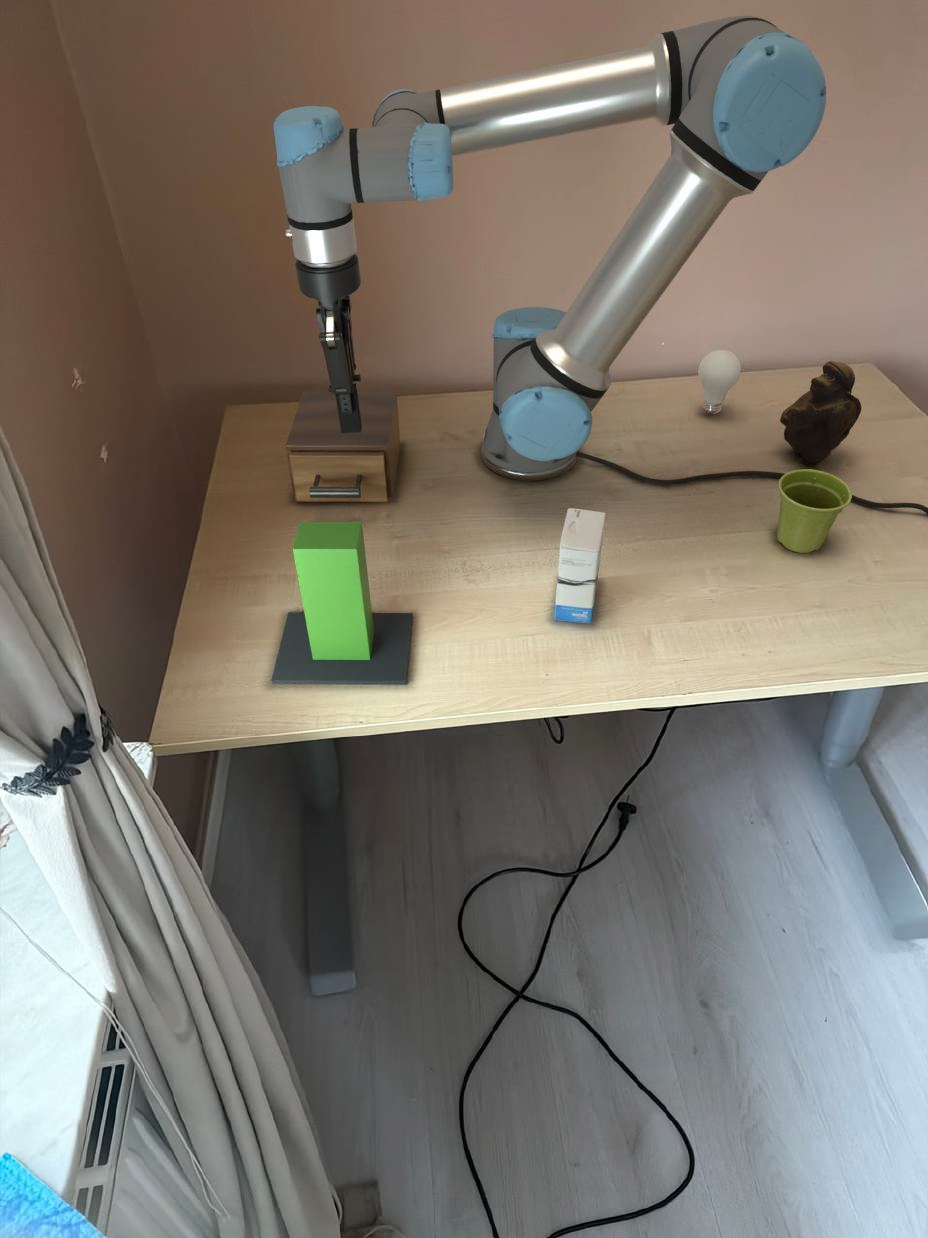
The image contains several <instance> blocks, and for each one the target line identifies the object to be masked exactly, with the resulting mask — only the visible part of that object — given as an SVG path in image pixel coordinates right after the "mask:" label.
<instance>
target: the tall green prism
mask: <svg viewBox="0 0 928 1238" xmlns="http://www.w3.org/2000/svg"><path fill="white" fill-rule="evenodd" d="M364 538H365V537H364V528H363V522H362V521H299V524H298V527H297V531H296V535H295V539H294V543H293V546H292V553H293V560H294V564H295V569H296V574H297V575H296V576H297V579H298V581H297V582H298V586H299V591H300V597H301V602H302V607H303V612H304V614H305V619H306V624H307V630H308V635H309V641H310V646H311V652H312V657H313V660H370V659H371V652H372V645H373V638H374V624H373V615H372V613H373V608H372V607H373V606H372V599H371V598H372V597H371V589H370V581H369V573H368V563H367V556H366V555H367V554H366V547H365V546H366V545H365V539H364Z"/></svg>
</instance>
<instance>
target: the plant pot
mask: <svg viewBox="0 0 928 1238" xmlns="http://www.w3.org/2000/svg"><path fill="white" fill-rule="evenodd" d="M777 486H778V491H779V497H780V505H779V512H778V513H779V514H778V521H777V530H776V539H777V541H778V542H780V543H781V544H782V545H783V546H784V547H785V548H786V549H787V550H789V551H792V552H796V553H801V554H808V553H812V552H813V551H818V550H819V549H820V548H821V547H822V545H823V544H824V542H825V540H826V538H827V536H828V534H829V532H830V531H831V529H832V526H833V525H834V523H835V521H836V519H837V518H838V516H839V514H840V513H841V512H842V511H843V510H844V508H846V507H847V506H848V505H849V504H850V503H851V501H852V500H851V499H852V495H853V493H852V489H851V488H850V487H849V485H848V484H847V483H846V482H845V481H843V480H842V479H841V478H840V477H838V476H836V475H833V474H832V473H828V472H826V471H823V470H818V469H810V468H804V469H803V468H801V469H795V470H790V471H789V472H786V473H784V475H783V476H782V477H781V478H779V480H778V485H777Z"/></svg>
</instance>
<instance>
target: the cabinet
mask: <svg viewBox="0 0 928 1238" xmlns="http://www.w3.org/2000/svg"><path fill="white" fill-rule="evenodd" d="M357 395H358V402H359V409H360V416H361V424H362V429H361V432H355V433H341V427H340V421H339V415H338V408H337V402H336V396H335V394H333V393H332V392H329V391H303V392H302V393H301V395H300V399H299V403H298V405H297V408H296V409H297V410H296V412H295V415H294V418H293V421H292V425H291V428H290V430H289V435H288V438H287V440H286V444H285V451H286V456H287V463H288V468H289V475H290V480H291V486H292V491H293V497H294V501H295V502H298V501H297V498H296V492H295V487H294V481H293V475H292V469H291V463H290V457H289V455H290V452H298V451H383V452H384V456H385V467H386V479H387V490H388V500H387V501H311V502H316V503H317V502H320V503H321V502H322V503H323V502H325V503H327V502H328V503H329V502H334V503H337V502H338V503H339V502H340V503H341V502H345V503H346V502H350V503H351V502H358V503H359V502H362V503H363V502H364V503H365V502H366V503H367V502H368V503H369V502H370V503H371V502H373V503H374V502H375V503H376V502H377V503H378V502H380V503H381V502H384V503H385V502H388V503H389V502H394V495H395V494H394V493H395V486H396V481H397V473H398V465H399V458H400V451H401V435H400V420H399V407H398V393H397V391H357Z"/></svg>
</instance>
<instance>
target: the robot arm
mask: <svg viewBox="0 0 928 1238" xmlns="http://www.w3.org/2000/svg"><path fill="white" fill-rule="evenodd" d="M825 77H826V76H825V74H824V71H823V67H822V66H821V64H820V62H819V61H818V59H817V58H816V56H815V55H814V54H813V52H812V51H811V49H810V48H809V47H807V45H805V43H804V42H803V41H802V40H801V39H798V38H796V37H795V36H792V35H791V34H790V33H787V32H786V31H783V30H782V29H780V28H778V26H776V25H775V24H774V23H772V22H770V21H768V20H766V19H764V18H762V17H760V16H755V15H735V16H727V17H723V18H719V19H715V20H711V21H706V22H702V23H698V24H694V25H690V26H686V27H682V28H678V29H675V30H670V31H665V32H660V33H657V34H655V36H654V37H653V39H652V41H651V42H650V43H649V44H648V45H647V46H642V47H636V48H632V49H627V50H623V51H618V52H613V53H607V54H603V55H598V56H593V57H589V58H588V57H587V58H584V59H583V58H582V59H579V60H574V61H570V62H564V63H558V64H555V65H549V66H545V67H540V68H536V69H531V70H530V69H529V70H525V71H521V72H516V73H511V74H505V75H501V76H496V77H491V78H487V79H481V80H477V81H476V80H475V81H472V82H467V83H462V84H457V85H453V86H452V85H451V86H447V87H443V88H440V89H434V90H428V91H423V92H417V91H415V90H412V89H409V88H408V89H406V88H400V89H396V90H394V91H391V92H390V93H388V94H387V95H385V96H384V98H383V99H382V100H381V101H380V103H379V104H378V106H377V108H376V110H375V112H374V115H373V119H372V122H371V123H372V124H371V125H372V127H361V128H357V127H355V128H351V127H344V123H343V122H342V119H341V115H340V113H339V112H338V110H336V109H335V108H333V107H330V106H318V105H306V106H299V107H295V108H294V107H293V108H290V109H286V110H285V111H283V112H281V113H280V114H278V115H277V117H276V118H275V120H274V122H273V126H272V127H273V134H274V143H275V151H276V166H277V169H278V174H279V179H280V184H281V190H282V195H283V200H284V205H285V211H286V217H287V222H288V227H289V228H286V229H285V233H284V234H285V237H286V238H289V239H292V242H291V245H292V251H293V256H294V258H295V259H296V261H295V264H294V265H295V271H296V276H297V283H298V289H299V291H300V293H302V295H304V296H305V297H308V298H310V299H315V300H316V301H317V302H318V303H317V305H318V307H317V308H316V309H315V316H316V321H317V324H319V328H320V332H319V335H318V340H319V341H320V345H321V347H322V351H323V355H324V361H325V364H326V370H327V375H328V379H329V383H330V385H329V386H328V392H332V393H333V394H335V396H336V402H337V408H338V415H339V421H340V427H341V433H355V432H361V429H362V424H361V416H360V409H359V402H358V395H357V392H358V389H357V383H355V382H361V381H362V376H361V374H356V373H355V371H356V369H357V363H356V359H355V349H354V340H353V339H354V338H353V330H352V329H353V324H352V316H351V311H352V302H351V298H350V297H351V296H350V295H352V294H354V293H355V292H357V290H359V288H360V287H361V283H362V279H361V272H360V271H361V270H360V264H359V262H360V261H359V257H358V255H357V254H356V252H357V251H358V244H357V243H358V242H357V236H356V235H357V234H356V228H355V219H354V216H353V209H352V204H366V203H386V202H387V203H388V202H389V203H390V202H408V201H419V202H426V201H428V200H433V199H434V200H435V199H440V198H441V199H442V198H446V197H448V196H450V195H451V194H452V192H453V190H454V169H453V168H454V166H453V158H456V157H461V156H468V155H472V154H476V153H477V154H479V153H482V152H487V151H492V150H498V149H504V148H508V147H513V146H518V145H523V144H528V143H535V142H540V141H544V140H549V139H555V138H560V137H565V136H571V135H575V134H580V133H586V132H590V131H596V130H602V129H607V128H611V127H616V126H621V125H622V126H623V125H626V124H632V123H638V122H643V121H648V120H654V121H655V122H657V123H658V124H659V125H660V126H662V127H665V126H670V125H673V126H672V128H671V129H670V130H669V138H670V139H669V140H670V148H671V149H670V155H669V156H668V158H667V160H666V161H665V163H664V164H663V165H662V167H661V168H660V170H659V171H658V173H657V175H656V176H655V178H654V179H653V180H652V182H651V184H650V185H649V187H648V188H647V190H645V193H644V194H643V196H642V197H641V199H640V201H639V202H638V203H637V205H636V206H635V207H634V209H633V211H632V213H630V215H629V217H628V219H627V220H626V221H625V223H624V224H623V226H622V228H621V229H620V231H619V232H618V234H617V235H616V236H615V238H614V240H613V241H612V243H611V244H610V245H609V248H608V249H607V250H606V252H605V253H604V255H603V256H602V258H601V259H600V261H599V262H598V264H597V265H596V267H595V268H594V270H593V271H592V273H591V274H590V275H589V278H588V279H587V280H586V282H585V284H583V286H582V288H581V289H580V291H579V292H578V294H577V295H576V297H575V298H574V300H573V302H572V303H571V305H570V306H569V308H568V309H567V310H566V311H563V310H561V309H557V308H552V307H545V306H543V307H542V306H527V307H518V308H514V309H510V310H507V311H504V312H502V313H501V314H499V315H498V316H497V317H496V319H495V320H494V323H493V333H492V334H491V337H492V338H493V359H492V360H493V361H492V362H493V364H492V365H493V366H492V368H493V369H492V371H493V373H492V379H493V381H492V411H491V414H490V417H489V420H488V423H487V424H485V425H484V428H483V436H482V439H481V443H480V444H481V445H480V456H481V461H482V462H483V464H484V465H485V466H486V468H488V469H489V470H490V471H492V472H494V473H495V474H497V475H499V476H502V477H504V478H508V479H511V480H517V481H525V482H535V481H545V480H550V479H554V478H556V477H559V476H562V475H564V474H566V473H567V472H569V471H570V470H571V469H572V468H573V467H574V466H575V465H576V463H577V460H578V458H582V459H584V460H588V461H590V462H591V461H592V462H594V463H598V464H600V465H602V466H603V465H604V466H607V467H609V468H611V469H614V470H617V471H618V472H621V473H623V474H625V475H627V476H629V477H631V478H632V479H633V478H634V479H636V480H638V481H641V482H644V483H649V484H653V485H660V486H661V485H663V486H664V485H665V486H668V485H671V486H672V485H680V484H686V483H692V482H697V481H703V480H704V481H705V480H712V479H725V478H733V477H734V478H735V477H750V476H751V477H771V478H779V479H780V478H781V477H782V476H783V475H784V474H785V473H784V472H776V471H764V470H762V471H761V470H739V471H728V472H719V473H708V474H698V475H693V476H687V477H683V478H675V479H658V478H653V477H652V478H651V477H647V476H645V475H644V476H643V475H641V474H638V473H636V472H634V471H632V470H629V469H628V468H626V467H624V466H622V465H619V464H618V463H615V462H613V461H609V460H606V459H603V458H601V457H598V456H594V455H591V454H588V453H584V452H581V451H579V450H580V449H581V448H582V447H583V446H584V445H585V444H586V442H587V440H588V439H589V437H590V435H591V432H592V431H591V430H592V427H593V415H592V412H593V410H594V409H595V408H596V406H597V405H598V404H599V402H600V401H601V399H602V398H603V397H604V395H605V394H606V392H607V391H609V388H610V387H611V385H612V379H611V373H610V367H611V366H612V365H613V363H614V361H615V360H616V359H617V358H618V356H619V354H620V353H621V352H623V349H624V348H625V346H626V345H627V344H628V343H629V341H630V340H631V338H632V337H633V335H634V334H635V333H636V331H637V330H638V328H639V327H640V326H641V325H642V323H643V322H644V320H645V319H646V317H647V316H648V315H649V314H650V312H651V310H652V309H653V308H654V307H655V305H656V304H657V303H658V301H659V300H660V298H661V297H662V295H663V294H664V293H665V292H666V290H667V289H668V288H669V286H670V284H671V283H672V282H673V281H674V280H675V278H676V276H677V275H678V274H679V272H680V271H681V270H682V268H683V266H684V265H685V264H686V262H687V261H688V260H689V259H690V257H691V256H692V254H693V253H694V251H695V250H696V249H697V247H698V246H699V245H700V243H702V241H703V239H704V238H705V236H706V235H707V234H708V232H709V231H710V229H711V228H712V227H713V225H714V224H715V222H716V221H717V220H718V218H719V217H720V216H721V214H722V213H723V211H724V210H725V209H726V207H727V206H728V205H729V203H730V202H731V201H732V200H733V199H735V198H739V197H743V196H748V195H751V194H753V193H754V192H755V190H756V189H757V188H758V187H759V185H760V184H761V182H762V181H763V180H764V178H765V177H766V176H767V174H768V173H769V172H770V171H773V170H776V169H778V168H780V167H784V166H786V165H788V164H790V163H792V162H793V161H794V160H795V159H796V158H798V157H799V156H800V155H801V154H802V153H803V152H804V151H805V150H806V149H807V148H808V147H809V145H810V143H811V142H812V141H813V139H814V137H815V136H816V134H817V132H818V131H819V128H820V126H821V123H822V120H823V118H824V114H825V110H826V106H827V105H826V104H827V82H826V78H825ZM851 501H853V502H855V503H858V504H860V505H863V506H868V507H870V508H871V507H872V508H877V509H878V508H879V509H917V510H918V511H919V510H920V511H921V512H924V513H925V514H926V515H928V506H925V505H923V504H920V503H915V502H890V503H889V502H888V503H887V502H877V501H871V500H868V499H865V498H861V497H858V496H856V495H854V494H852V499H851Z"/></svg>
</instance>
